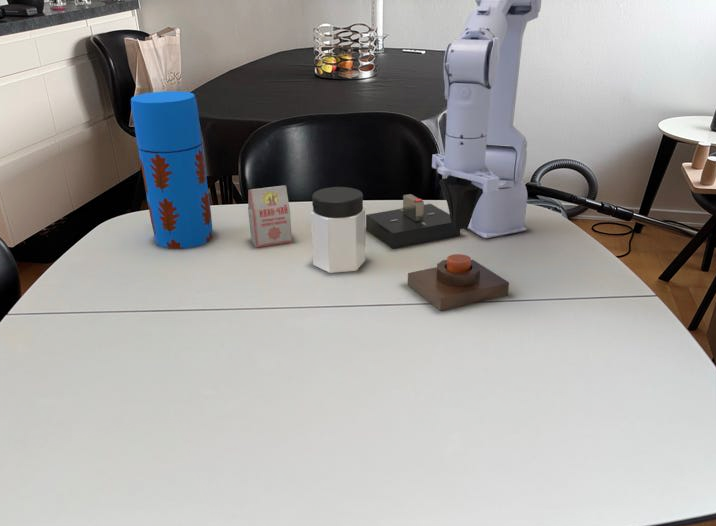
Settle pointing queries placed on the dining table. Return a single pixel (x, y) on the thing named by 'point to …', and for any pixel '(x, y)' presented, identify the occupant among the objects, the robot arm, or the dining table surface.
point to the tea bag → (269, 216)
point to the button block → (457, 285)
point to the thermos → (173, 167)
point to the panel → (410, 227)
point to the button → (458, 263)
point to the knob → (413, 207)
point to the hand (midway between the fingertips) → (460, 227)
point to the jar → (338, 229)
